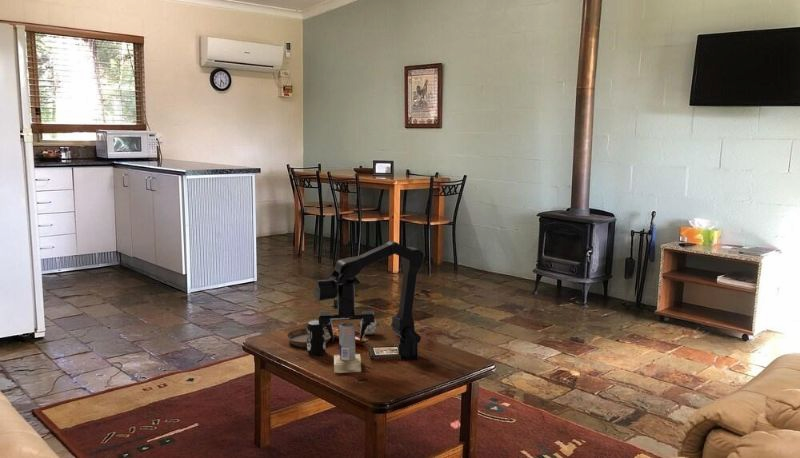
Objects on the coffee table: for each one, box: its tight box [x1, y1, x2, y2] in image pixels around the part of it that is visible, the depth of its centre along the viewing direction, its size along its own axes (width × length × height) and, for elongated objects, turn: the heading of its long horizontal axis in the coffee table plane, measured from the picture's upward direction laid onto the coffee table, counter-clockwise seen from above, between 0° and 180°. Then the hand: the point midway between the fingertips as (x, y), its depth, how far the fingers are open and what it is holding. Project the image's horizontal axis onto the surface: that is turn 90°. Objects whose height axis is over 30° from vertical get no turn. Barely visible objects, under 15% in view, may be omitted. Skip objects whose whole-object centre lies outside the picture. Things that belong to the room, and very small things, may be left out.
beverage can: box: [306, 319, 326, 357], centre depth 228 cm, size 7×7×12 cm
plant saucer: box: [285, 327, 331, 348], centre depth 242 cm, size 18×18×3 cm
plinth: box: [333, 353, 362, 374], centre depth 215 cm, size 9×9×3 cm
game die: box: [357, 313, 380, 336], centre depth 249 cm, size 9×8×10 cm
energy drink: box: [338, 322, 356, 361], centre depth 214 cm, size 5×5×12 cm
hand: (347, 341), depth 214 cm, fingers open, 9 cm apart
